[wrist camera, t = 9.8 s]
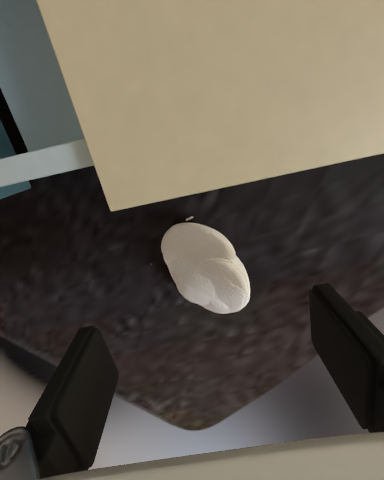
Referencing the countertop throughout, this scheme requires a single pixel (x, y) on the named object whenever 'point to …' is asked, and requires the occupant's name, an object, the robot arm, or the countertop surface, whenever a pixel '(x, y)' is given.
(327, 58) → the cabinet
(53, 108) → the drawer
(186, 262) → the dumpling
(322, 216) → the countertop surface
